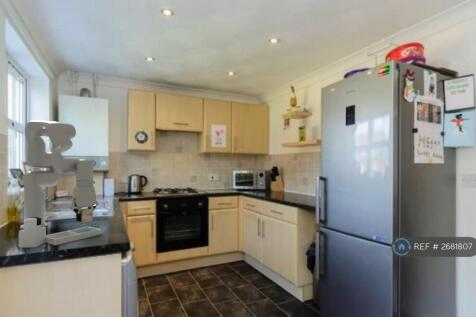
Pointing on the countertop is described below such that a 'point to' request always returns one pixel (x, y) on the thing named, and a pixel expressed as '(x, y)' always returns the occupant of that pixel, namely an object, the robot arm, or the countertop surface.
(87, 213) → the wooden block
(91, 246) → the countertop surface
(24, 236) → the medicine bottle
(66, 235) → the organiser tray
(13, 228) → the countertop surface
